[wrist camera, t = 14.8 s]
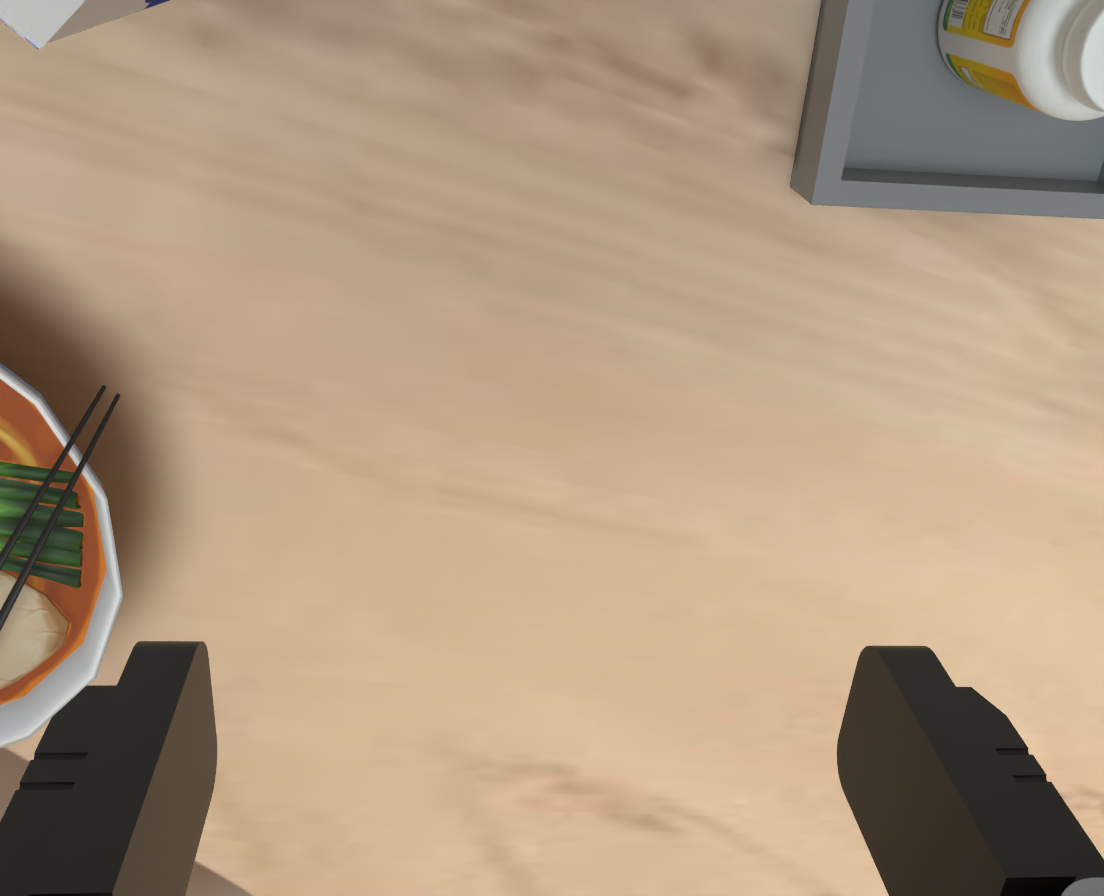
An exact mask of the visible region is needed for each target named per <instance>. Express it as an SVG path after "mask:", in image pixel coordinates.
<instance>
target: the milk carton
mask: <svg viewBox="0 0 1104 896" xmlns="http://www.w3.org/2000/svg"><path fill="white" fill-rule="evenodd" d="M166 1H169V0H0V20H1V21H2V22H4V23H5V24H6V25H7V26H9V27H10V28H11V29H12V30H14V31H15V32H16V33H17V34H18V35H20V36H21V37H22V38H23V39H25V40H26V41H27V42H28V43H30V44H31V45H32V46H34V47H35V48H37V49H41V48H42V47H43V46H44V45H45V44H46V43H49V42H52V41H55V40H58V39H61V38H63V37H66V36H69V35H72V34H75V33H78V32H81V31H83V30H86V29H89V28H92V27H95V26H98V25H100V24H103V23H106V22H109V21H112V20H115V19H118V18H120V17H123V16H126V15H129V14H132V13H135V12H138V11H140V10H143V9H146V8H149V7H152V6H155V5H158V4H160V3H163V2H166Z"/></svg>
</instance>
